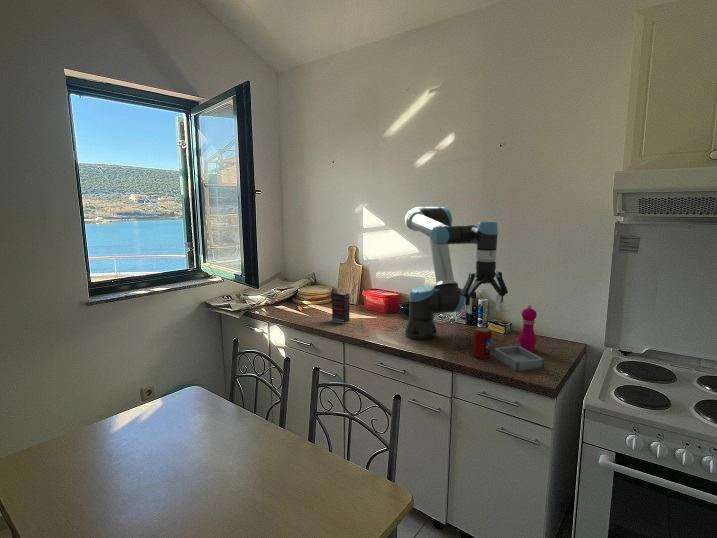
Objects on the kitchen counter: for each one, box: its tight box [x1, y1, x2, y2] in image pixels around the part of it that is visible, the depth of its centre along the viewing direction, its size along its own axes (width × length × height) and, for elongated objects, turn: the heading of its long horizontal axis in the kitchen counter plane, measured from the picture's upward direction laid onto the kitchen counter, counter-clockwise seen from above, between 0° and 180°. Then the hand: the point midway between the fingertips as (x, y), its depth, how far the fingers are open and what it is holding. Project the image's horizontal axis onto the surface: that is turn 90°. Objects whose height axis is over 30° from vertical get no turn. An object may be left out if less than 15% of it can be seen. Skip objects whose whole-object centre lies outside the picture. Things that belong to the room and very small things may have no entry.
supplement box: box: [331, 291, 351, 325], centre depth 218 cm, size 9×5×16 cm, turn 56°
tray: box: [492, 345, 546, 372], centre depth 164 cm, size 16×12×4 cm
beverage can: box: [473, 326, 492, 360], centre depth 169 cm, size 7×7×12 cm
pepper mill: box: [517, 304, 538, 353], centre depth 176 cm, size 7×7×20 cm
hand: (483, 311), depth 166 cm, fingers open, 13 cm apart
